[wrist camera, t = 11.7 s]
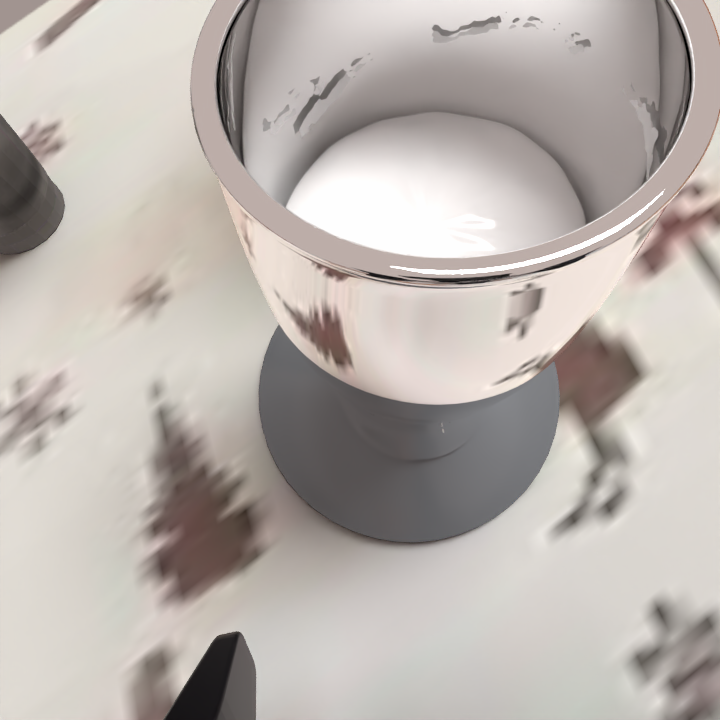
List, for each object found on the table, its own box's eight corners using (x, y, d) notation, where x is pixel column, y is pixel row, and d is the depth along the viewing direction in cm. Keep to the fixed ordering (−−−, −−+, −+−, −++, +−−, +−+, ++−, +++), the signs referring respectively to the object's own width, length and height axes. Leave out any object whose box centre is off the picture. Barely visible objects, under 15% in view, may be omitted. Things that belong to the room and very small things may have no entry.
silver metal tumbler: (296, 424, 20) (61, 165, 6) (374, 282, 22) (331, -171, 8) (459, 506, 19) (639, 413, 5) (528, 346, 21) (809, -67, 6)
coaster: (508, 594, 18) (511, 595, 18) (214, 474, 20) (209, 473, 20) (586, 306, 22) (591, 300, 21) (326, 230, 24) (324, 222, 23)
